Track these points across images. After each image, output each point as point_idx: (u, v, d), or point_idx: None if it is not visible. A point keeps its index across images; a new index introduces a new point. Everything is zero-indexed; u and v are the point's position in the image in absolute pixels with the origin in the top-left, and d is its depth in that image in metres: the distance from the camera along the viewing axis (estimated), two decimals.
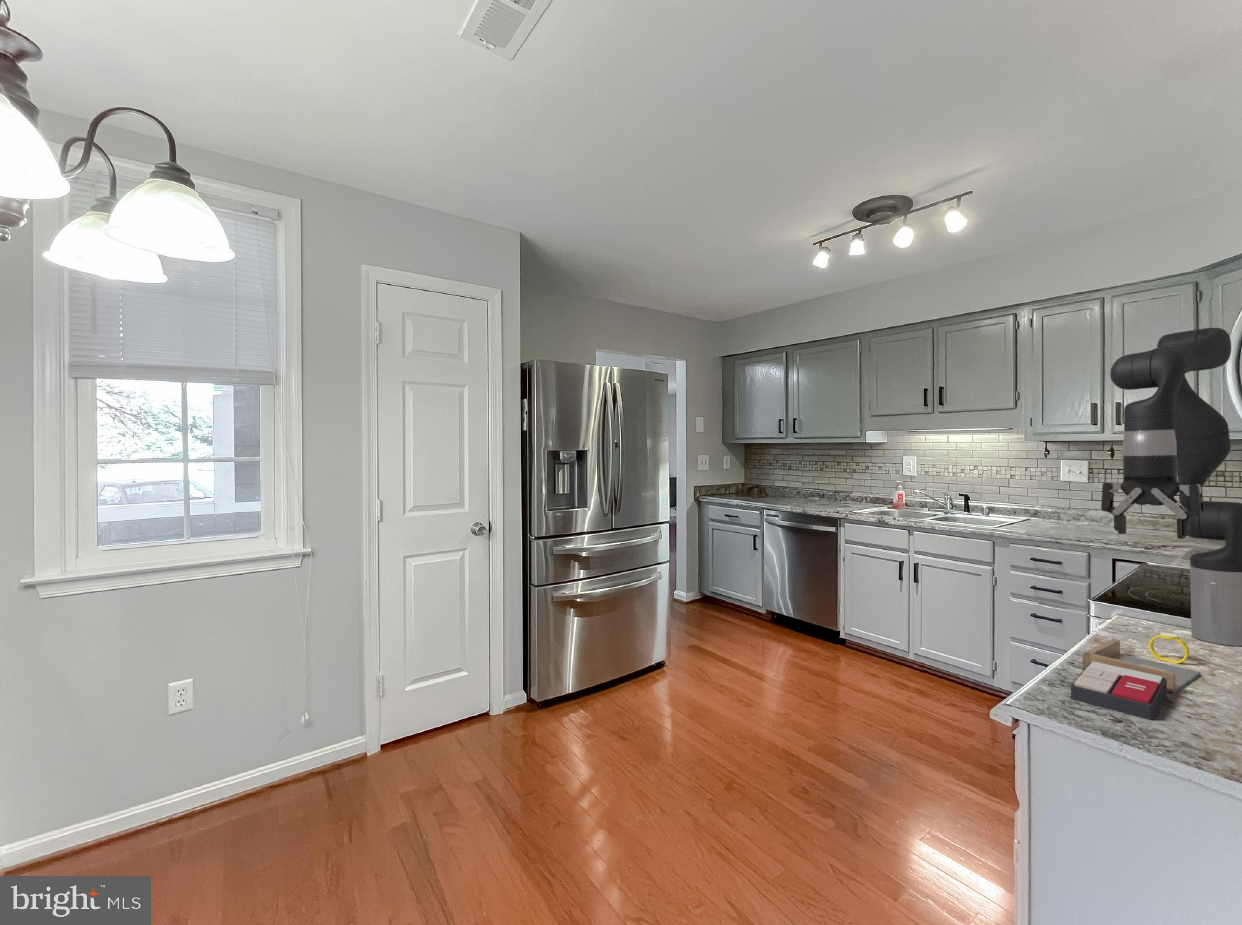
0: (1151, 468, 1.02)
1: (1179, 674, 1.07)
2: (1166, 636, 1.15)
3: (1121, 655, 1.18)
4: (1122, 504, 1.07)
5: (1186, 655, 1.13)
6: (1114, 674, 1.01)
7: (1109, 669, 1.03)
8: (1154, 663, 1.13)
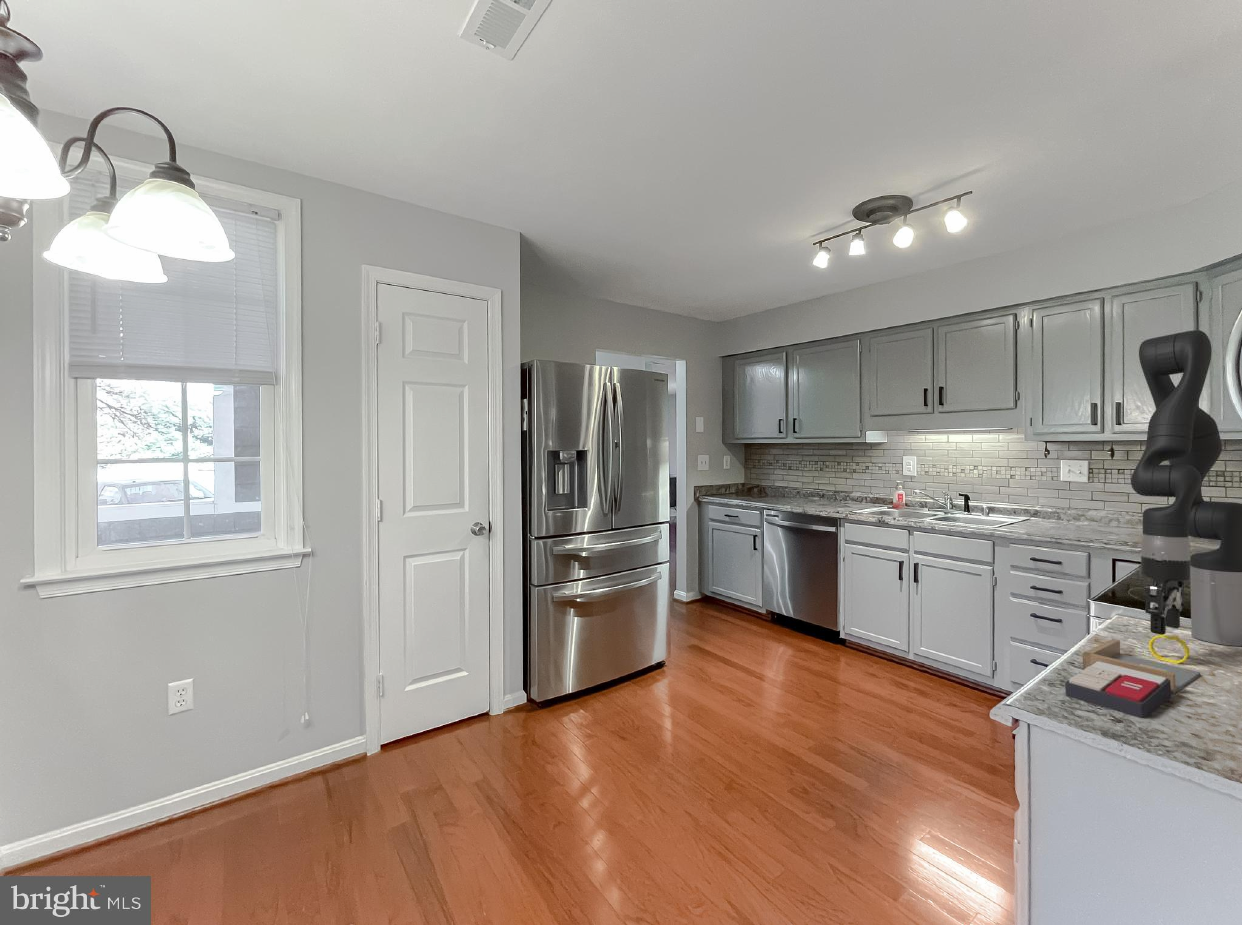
0: (1190, 571, 1.13)
1: (1179, 674, 1.07)
2: (1166, 636, 1.15)
3: (1121, 655, 1.18)
4: (1169, 606, 1.13)
5: (1186, 655, 1.13)
6: (1114, 673, 1.01)
7: (1112, 669, 1.04)
8: (1154, 663, 1.13)
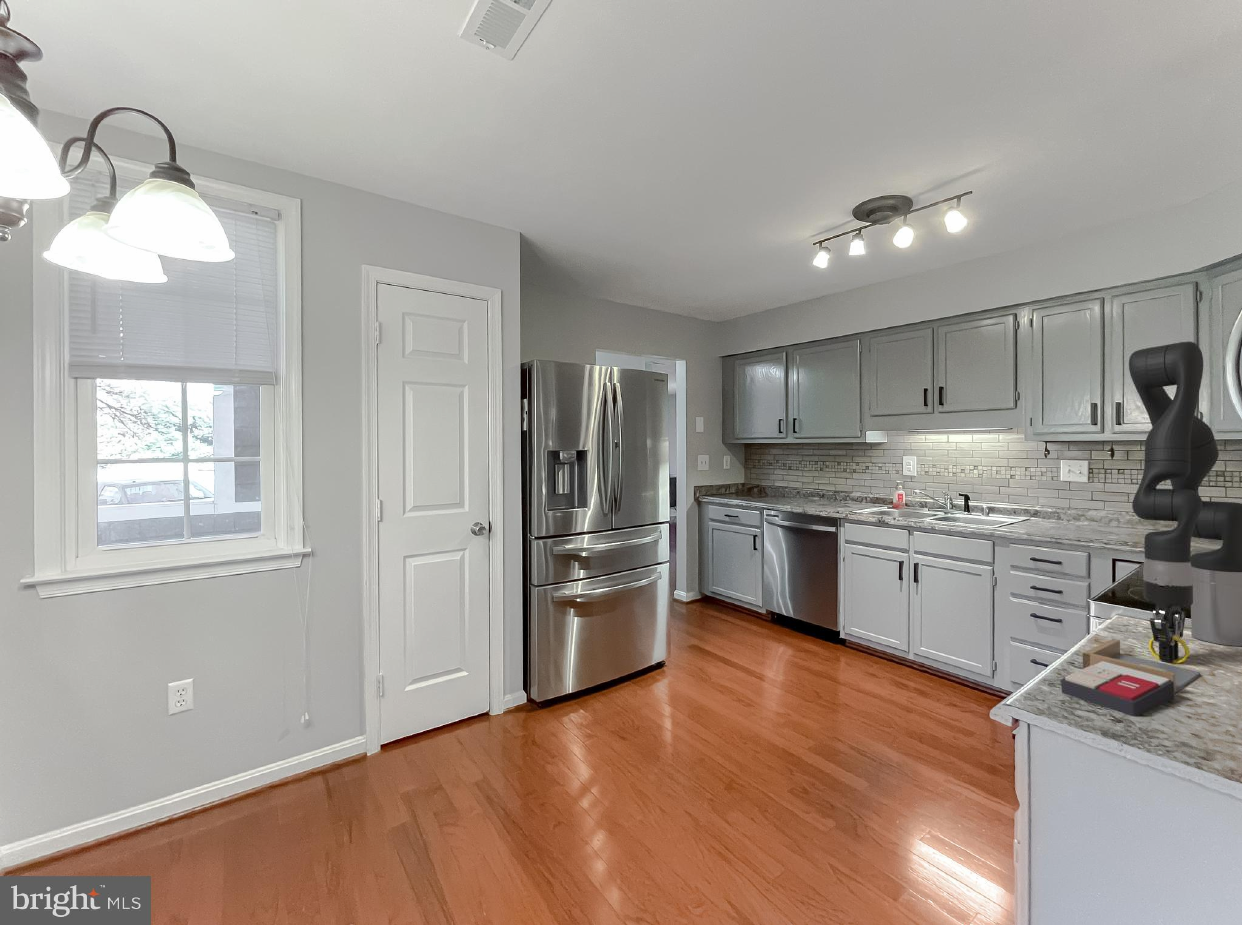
0: (1192, 595, 1.13)
1: (1179, 674, 1.07)
2: None
3: (1121, 655, 1.18)
4: (1175, 634, 1.13)
5: (1186, 655, 1.13)
6: (1115, 673, 1.01)
7: (1114, 669, 1.04)
8: (1154, 663, 1.13)
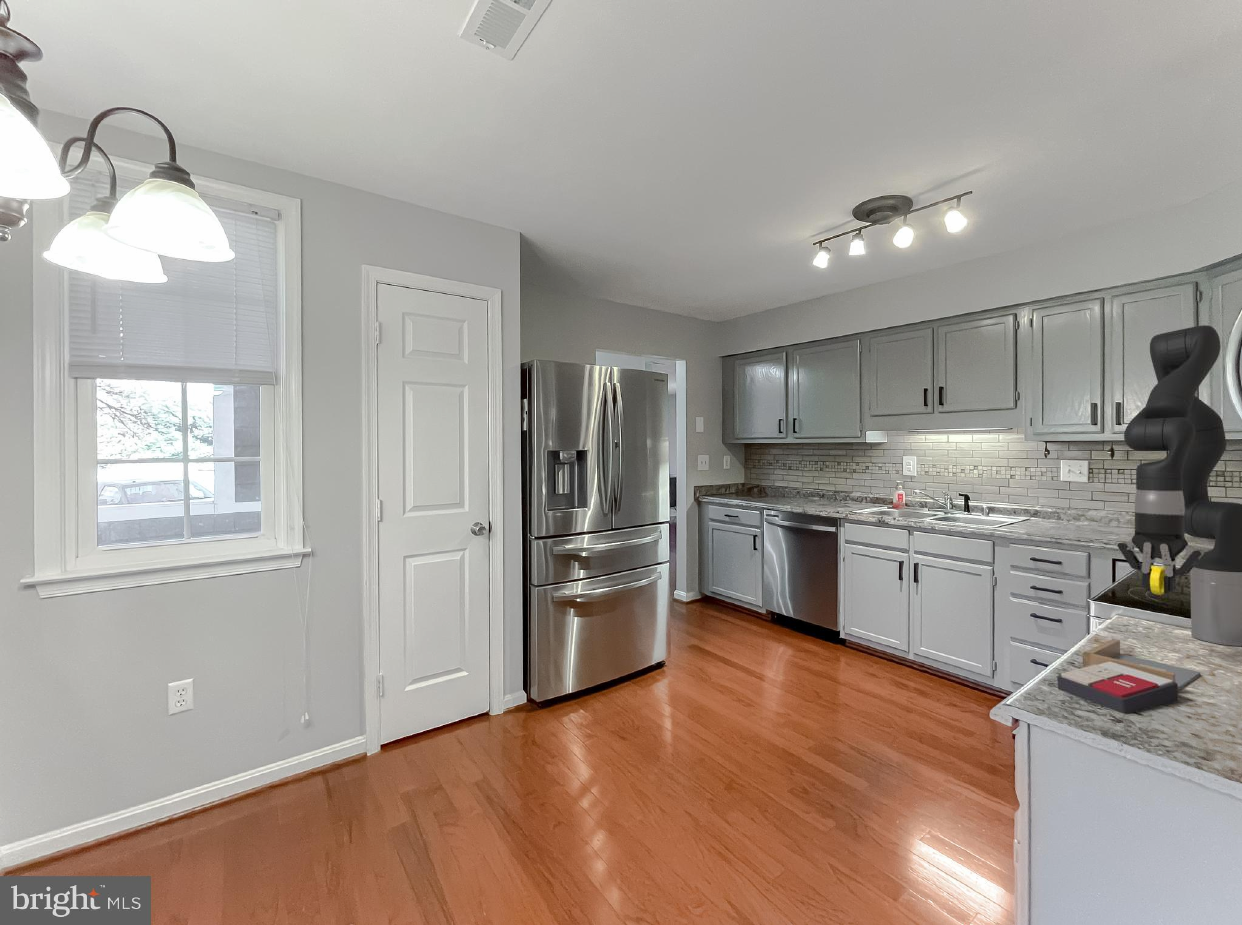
0: None
1: (1179, 674, 1.07)
2: None
3: (1121, 655, 1.18)
4: None
5: None
6: (1116, 672, 1.02)
7: (1118, 669, 1.04)
8: (1154, 663, 1.13)
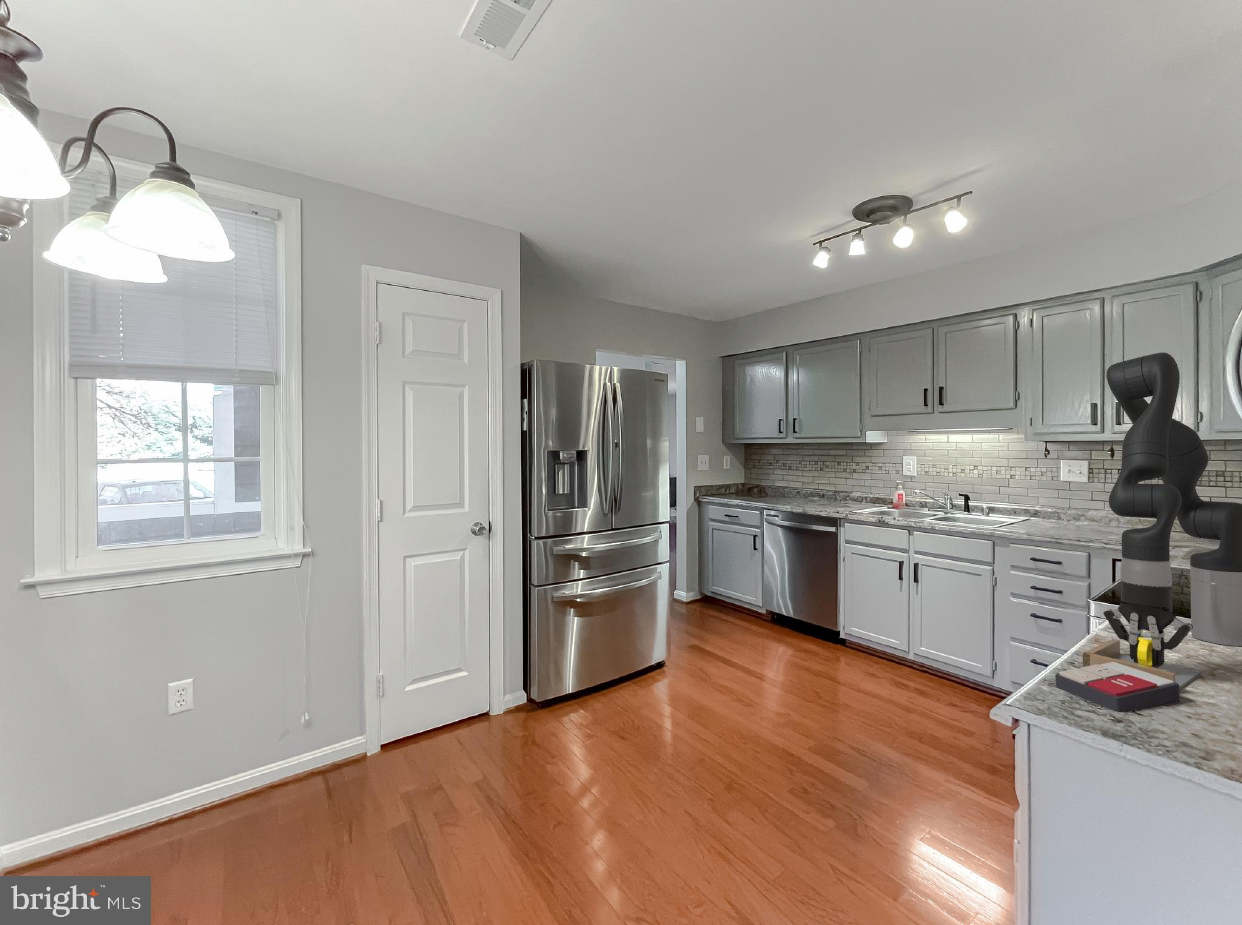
0: None
1: (1179, 674, 1.07)
2: None
3: (1121, 655, 1.18)
4: None
5: None
6: (1116, 672, 1.02)
7: (1120, 669, 1.03)
8: None
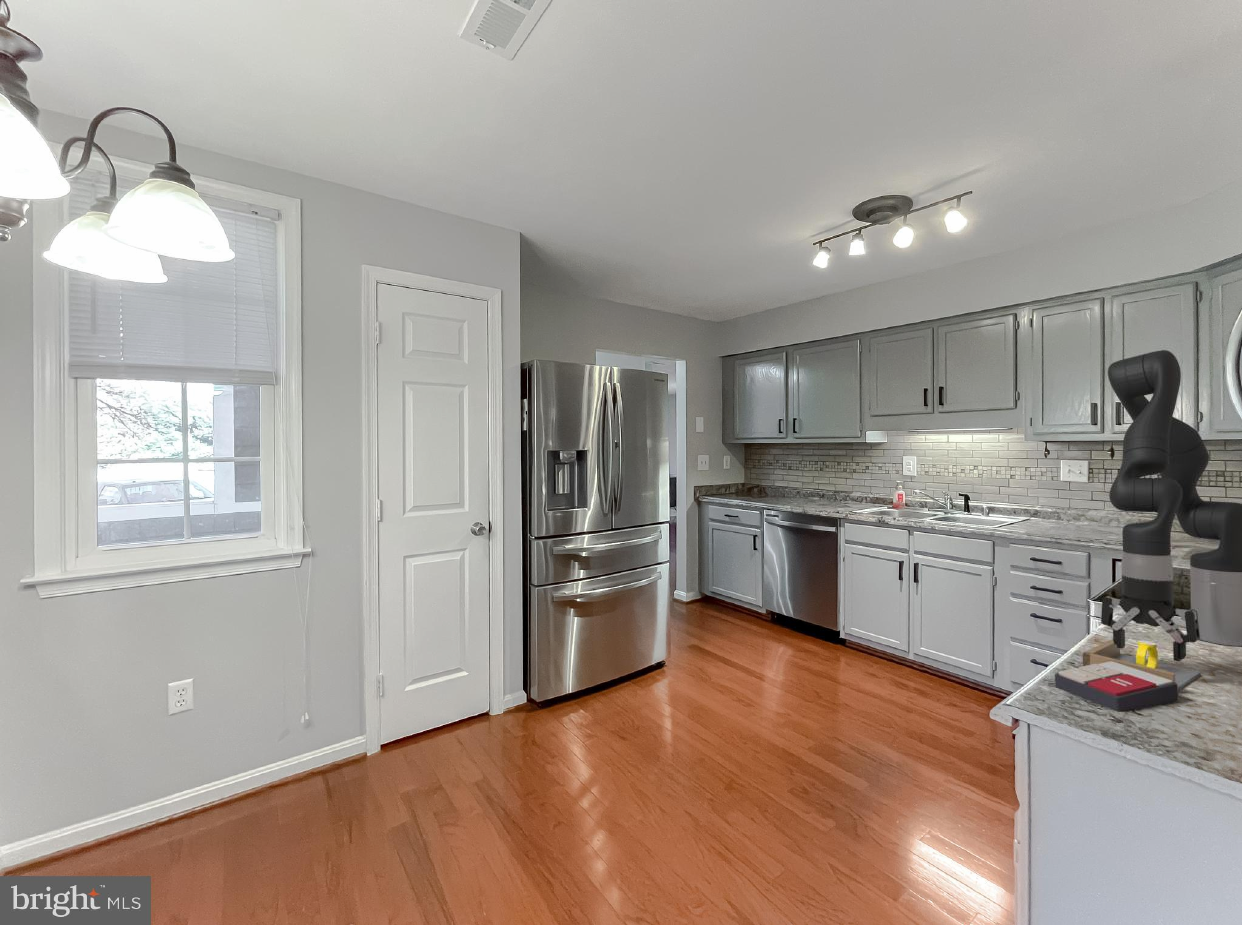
0: None
1: (1179, 674, 1.07)
2: (1155, 645, 1.08)
3: (1121, 655, 1.18)
4: None
5: None
6: (1115, 672, 1.02)
7: (1118, 668, 1.04)
8: None
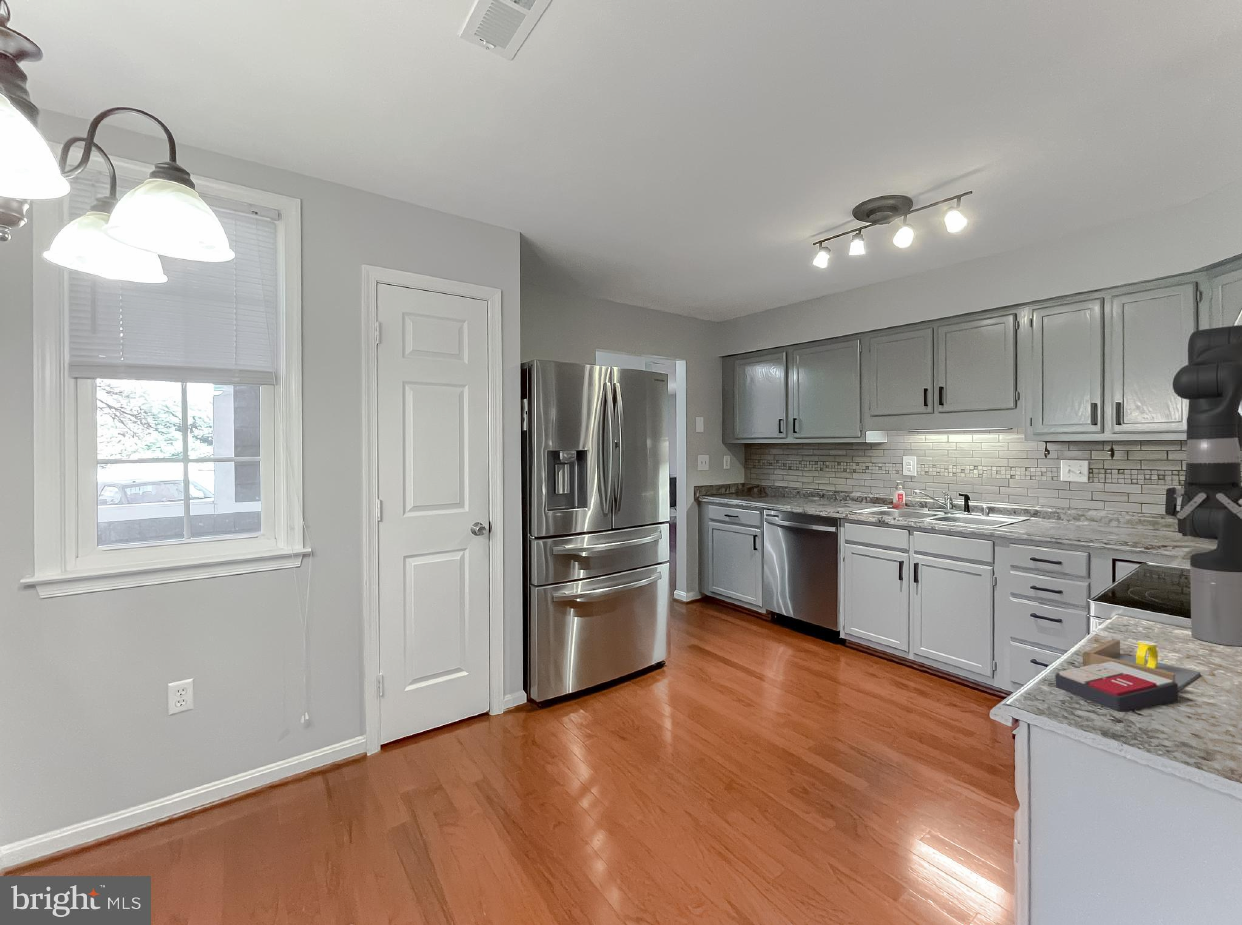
0: None
1: (1179, 674, 1.07)
2: (1155, 645, 1.08)
3: (1121, 655, 1.18)
4: None
5: None
6: (1116, 672, 1.02)
7: (1119, 668, 1.04)
8: None
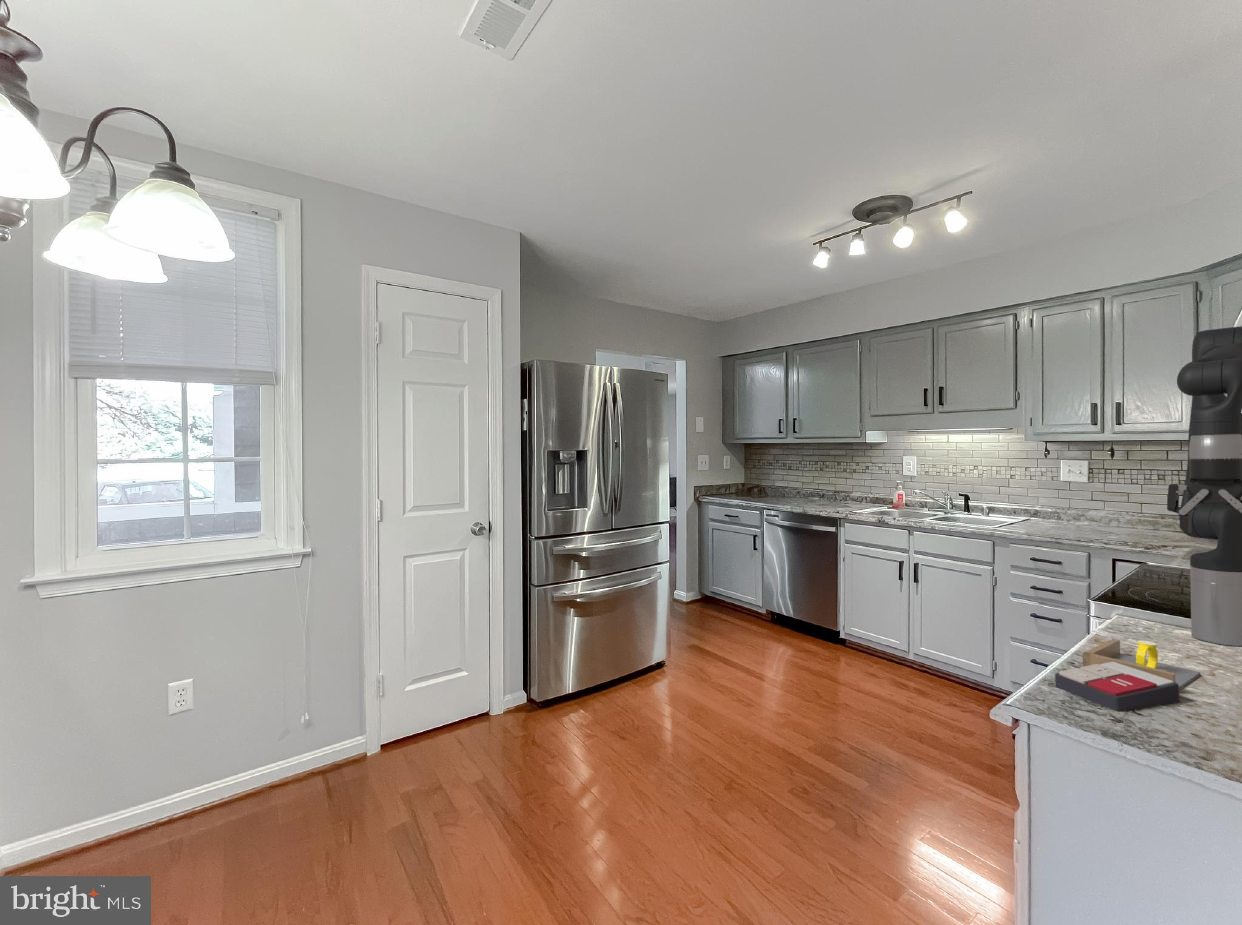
0: None
1: (1179, 674, 1.07)
2: (1155, 645, 1.08)
3: (1121, 655, 1.18)
4: None
5: None
6: (1116, 672, 1.02)
7: (1120, 669, 1.04)
8: None
